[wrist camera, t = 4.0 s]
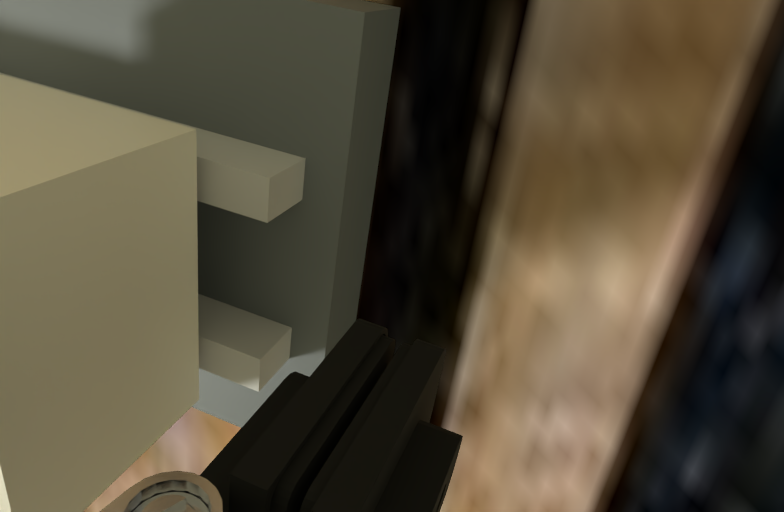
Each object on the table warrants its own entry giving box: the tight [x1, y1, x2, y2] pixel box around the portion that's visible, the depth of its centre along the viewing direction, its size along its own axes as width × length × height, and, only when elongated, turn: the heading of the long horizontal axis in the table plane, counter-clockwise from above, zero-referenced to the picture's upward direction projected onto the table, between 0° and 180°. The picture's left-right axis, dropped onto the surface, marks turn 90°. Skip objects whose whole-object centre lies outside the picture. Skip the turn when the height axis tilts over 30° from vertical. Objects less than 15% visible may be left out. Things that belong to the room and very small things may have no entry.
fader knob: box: [0, 75, 199, 512], centre depth 12 cm, size 5×7×6 cm
